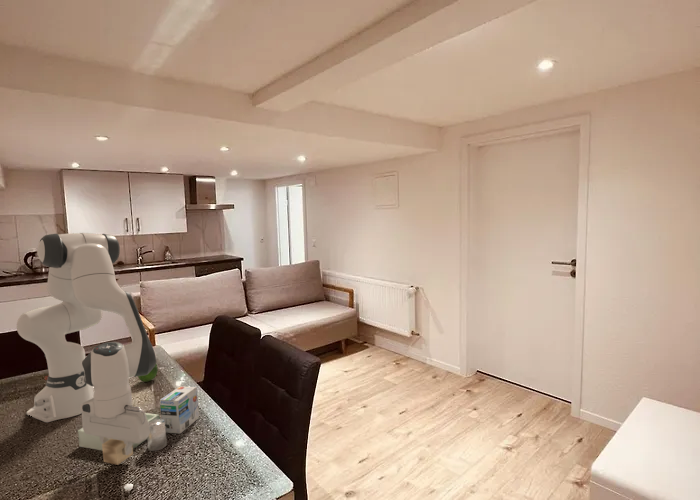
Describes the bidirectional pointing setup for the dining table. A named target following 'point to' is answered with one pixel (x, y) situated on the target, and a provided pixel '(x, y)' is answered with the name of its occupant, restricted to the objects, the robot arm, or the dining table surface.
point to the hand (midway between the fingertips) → (118, 452)
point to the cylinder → (157, 435)
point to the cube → (114, 451)
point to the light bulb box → (179, 409)
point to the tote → (94, 441)
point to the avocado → (149, 375)
